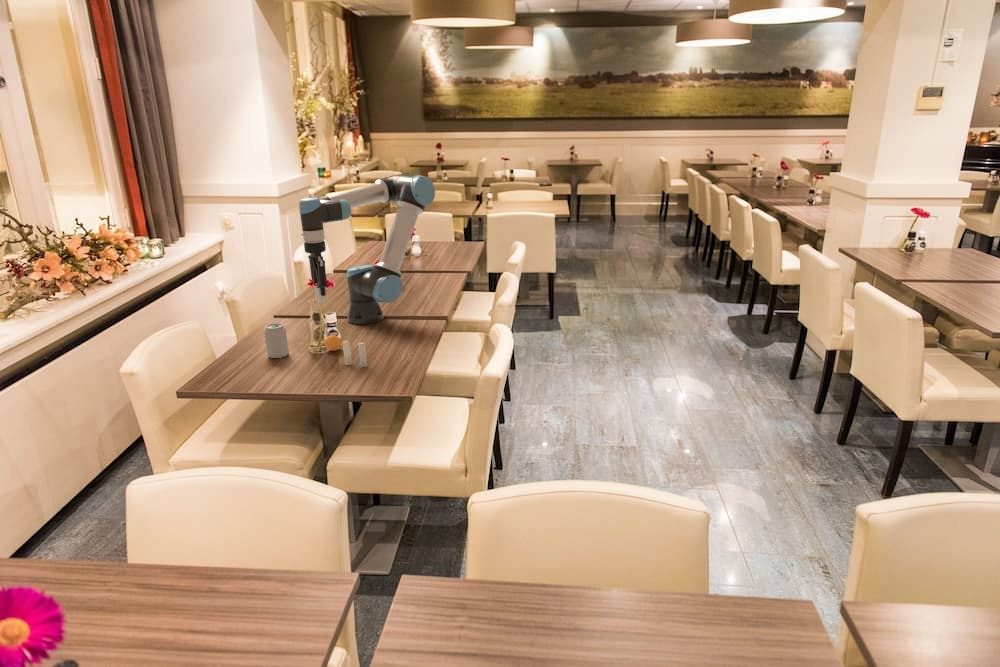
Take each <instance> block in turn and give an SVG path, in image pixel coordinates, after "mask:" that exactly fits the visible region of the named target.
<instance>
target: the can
mask: <svg viewBox="0 0 1000 667" xmlns="http://www.w3.org/2000/svg"><path fill="white" fill-rule="evenodd" d="M263 333H264V339H265V344H266V351H267V356H268V357H269V358H270V357H271V358H270V359H272V358H280V359H283V358H282V357H284V358H286V357H287V356H288V355H289V353H290V350H289V343H288V337H287V329H286V327H285V326H284V324H283V323H281V322H280V323H278V322H276V323H275V322H274V323H270V324H267V325H266V326H265V328H264V331H263ZM285 356H286V357H285Z"/></svg>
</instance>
